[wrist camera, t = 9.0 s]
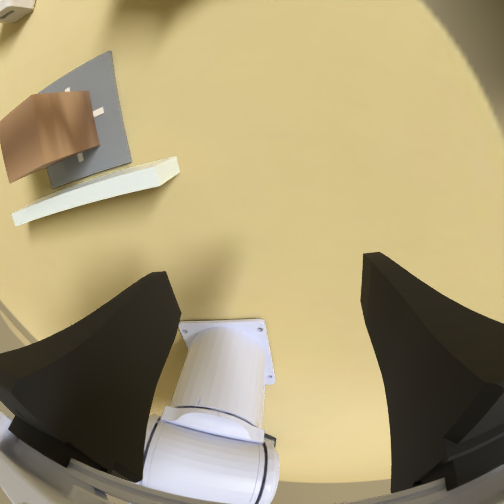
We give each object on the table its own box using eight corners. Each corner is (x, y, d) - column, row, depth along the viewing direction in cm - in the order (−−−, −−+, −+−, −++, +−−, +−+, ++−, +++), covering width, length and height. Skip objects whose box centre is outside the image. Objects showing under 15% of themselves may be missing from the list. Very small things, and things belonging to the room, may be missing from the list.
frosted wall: (180, 172, 18) (159, 186, 15) (39, 211, 21) (15, 226, 18) (176, 155, 18) (154, 166, 15) (35, 200, 20) (11, 214, 17)
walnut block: (99, 144, 17) (44, 163, 12) (61, 161, 18) (9, 183, 13) (89, 90, 15) (31, 94, 10) (51, 112, 16) (-3, 124, 11)
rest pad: (132, 161, 18) (129, 162, 18) (54, 187, 20) (51, 189, 19) (111, 51, 14) (108, 50, 14) (35, 96, 15) (32, 97, 15)
